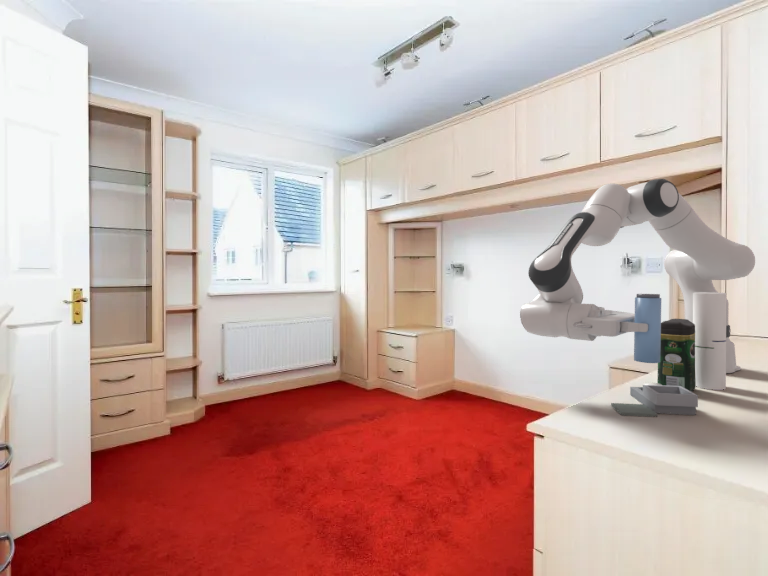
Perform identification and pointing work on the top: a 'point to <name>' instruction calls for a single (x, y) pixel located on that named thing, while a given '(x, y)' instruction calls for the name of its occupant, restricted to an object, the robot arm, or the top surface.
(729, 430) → the top surface
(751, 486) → the top surface
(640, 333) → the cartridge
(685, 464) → the top surface
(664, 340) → the coffee jar
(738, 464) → the top surface
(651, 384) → the white rounded piece
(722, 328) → the cylindrical container
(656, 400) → the frame
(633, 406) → the mat
